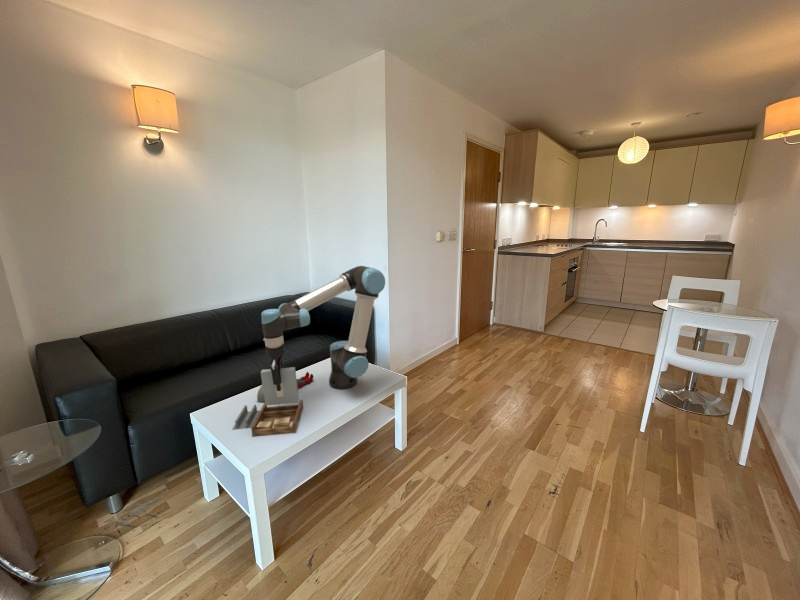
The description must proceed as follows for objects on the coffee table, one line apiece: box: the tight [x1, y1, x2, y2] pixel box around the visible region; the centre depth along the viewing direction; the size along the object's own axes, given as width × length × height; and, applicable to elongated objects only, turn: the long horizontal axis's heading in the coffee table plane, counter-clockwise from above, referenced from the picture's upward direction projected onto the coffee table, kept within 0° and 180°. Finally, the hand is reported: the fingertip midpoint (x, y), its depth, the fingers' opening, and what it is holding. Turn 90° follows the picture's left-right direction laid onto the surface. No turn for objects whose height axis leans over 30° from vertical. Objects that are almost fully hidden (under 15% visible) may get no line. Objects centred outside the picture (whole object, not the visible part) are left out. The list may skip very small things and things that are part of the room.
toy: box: [256, 371, 314, 403], centre depth 168 cm, size 16×10×30 cm
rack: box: [250, 399, 304, 437], centre depth 141 cm, size 17×19×5 cm
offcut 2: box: [274, 417, 290, 428], centre depth 135 cm, size 6×4×2 cm, turn 103°
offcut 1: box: [256, 422, 272, 429], centre depth 135 cm, size 5×4×3 cm
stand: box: [231, 404, 260, 431], centre depth 143 cm, size 13×8×4 cm, turn 7°
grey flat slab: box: [260, 366, 300, 406], centre depth 144 cm, size 14×3×16 cm, turn 97°
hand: (281, 394), depth 145 cm, fingers closed on grey flat slab, 3 cm apart
